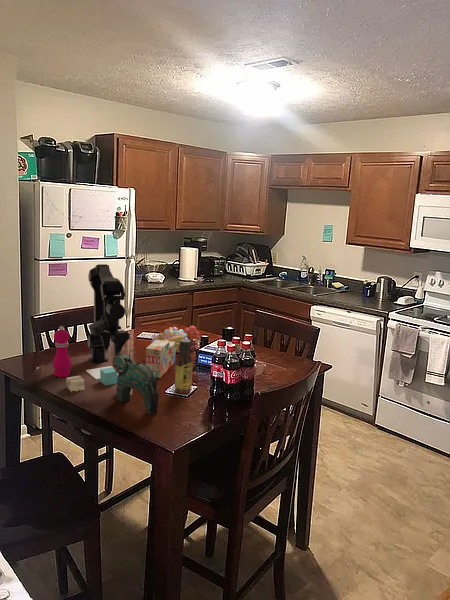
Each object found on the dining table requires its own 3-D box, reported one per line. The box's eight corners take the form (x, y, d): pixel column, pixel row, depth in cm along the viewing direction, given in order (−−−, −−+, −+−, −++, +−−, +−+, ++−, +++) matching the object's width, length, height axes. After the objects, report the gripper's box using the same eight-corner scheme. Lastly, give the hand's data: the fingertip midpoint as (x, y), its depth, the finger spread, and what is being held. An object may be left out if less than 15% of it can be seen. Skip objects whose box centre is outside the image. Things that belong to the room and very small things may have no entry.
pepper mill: (54, 378, 196) (53, 329, 192) (51, 372, 203) (50, 324, 198) (73, 376, 200) (72, 327, 195) (69, 370, 206) (69, 323, 202)
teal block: (100, 381, 196) (100, 369, 195) (112, 379, 199) (112, 367, 198) (105, 385, 192) (105, 373, 191) (117, 383, 195) (117, 371, 194)
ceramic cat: (111, 399, 180) (111, 346, 176) (125, 394, 185) (126, 342, 181) (148, 417, 168) (150, 360, 164) (162, 411, 173) (164, 356, 169)
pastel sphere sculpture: (198, 355, 234) (199, 336, 232) (148, 352, 234) (148, 333, 232) (201, 340, 258) (202, 322, 257) (156, 337, 259) (156, 320, 257)
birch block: (66, 387, 189) (66, 377, 188) (79, 385, 191) (79, 375, 191) (71, 392, 185) (70, 382, 184) (84, 390, 188) (84, 379, 187)
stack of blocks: (162, 360, 224) (162, 333, 222) (175, 361, 223) (176, 335, 221) (145, 376, 204) (145, 347, 201) (159, 378, 203) (160, 349, 200)
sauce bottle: (184, 395, 187) (186, 344, 183) (171, 391, 190) (172, 341, 186) (194, 390, 192) (196, 340, 188) (181, 386, 196) (183, 337, 191)
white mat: (85, 371, 206) (85, 370, 206) (111, 366, 212) (111, 365, 212) (95, 379, 197) (95, 378, 197) (122, 375, 204) (122, 374, 204)
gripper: (81, 310, 192) (81, 349, 196) (102, 321, 178) (102, 363, 181) (108, 307, 199) (107, 345, 202) (130, 317, 185) (130, 358, 188)
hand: (111, 352), depth 193 cm, fingers open, 9 cm apart
